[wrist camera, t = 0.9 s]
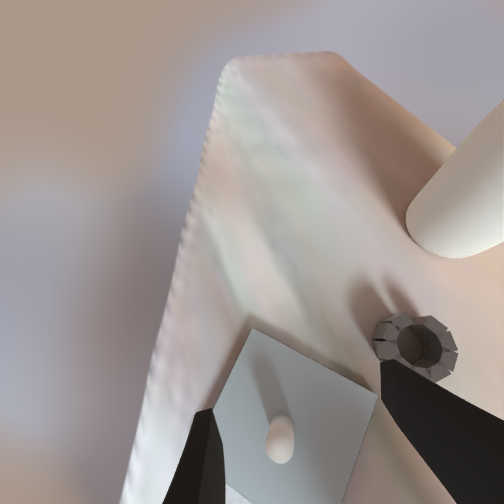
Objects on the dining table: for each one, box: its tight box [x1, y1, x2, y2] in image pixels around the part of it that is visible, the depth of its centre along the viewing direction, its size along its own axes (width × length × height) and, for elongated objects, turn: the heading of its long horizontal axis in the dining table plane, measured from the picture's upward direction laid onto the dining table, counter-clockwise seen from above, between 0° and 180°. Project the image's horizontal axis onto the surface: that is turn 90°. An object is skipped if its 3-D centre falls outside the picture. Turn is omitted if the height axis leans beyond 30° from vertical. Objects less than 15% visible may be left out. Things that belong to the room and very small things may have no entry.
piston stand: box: [213, 328, 378, 504], centre depth 20 cm, size 12×12×5 cm
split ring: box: [373, 312, 458, 383], centre depth 21 cm, size 5×5×3 cm
